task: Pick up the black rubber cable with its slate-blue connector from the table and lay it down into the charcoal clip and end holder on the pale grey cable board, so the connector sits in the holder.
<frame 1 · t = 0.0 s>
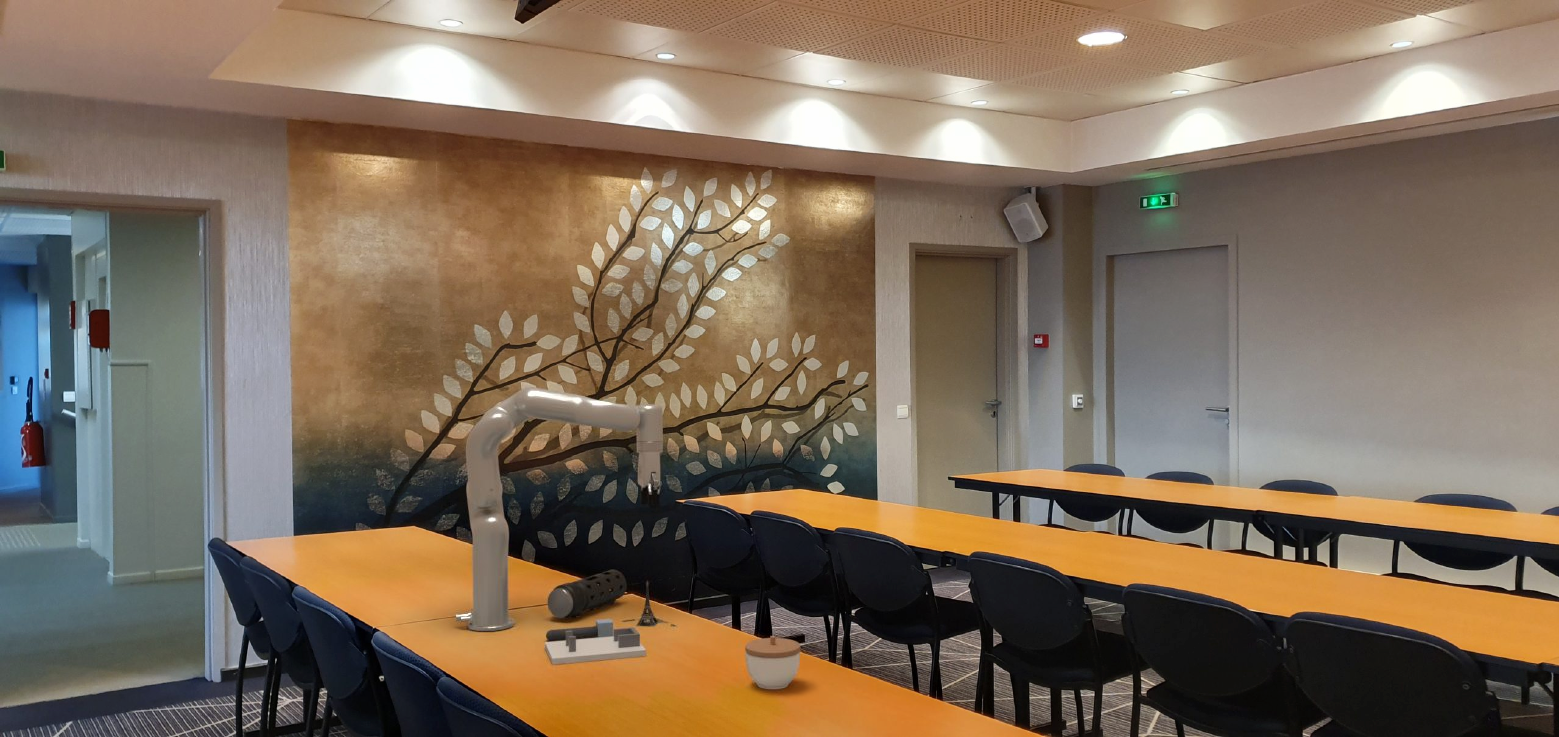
hand: (650, 505, 319), 31 cm above the table, fingers open, 9 cm apart
cable board: (594, 651, 278), on the table
eiffel tower figurine: (649, 626, 307), on the table
muzzle brake: (587, 612, 322), on the table
lidded bowl: (773, 685, 250), on the table
cable: (574, 638, 292), on the table
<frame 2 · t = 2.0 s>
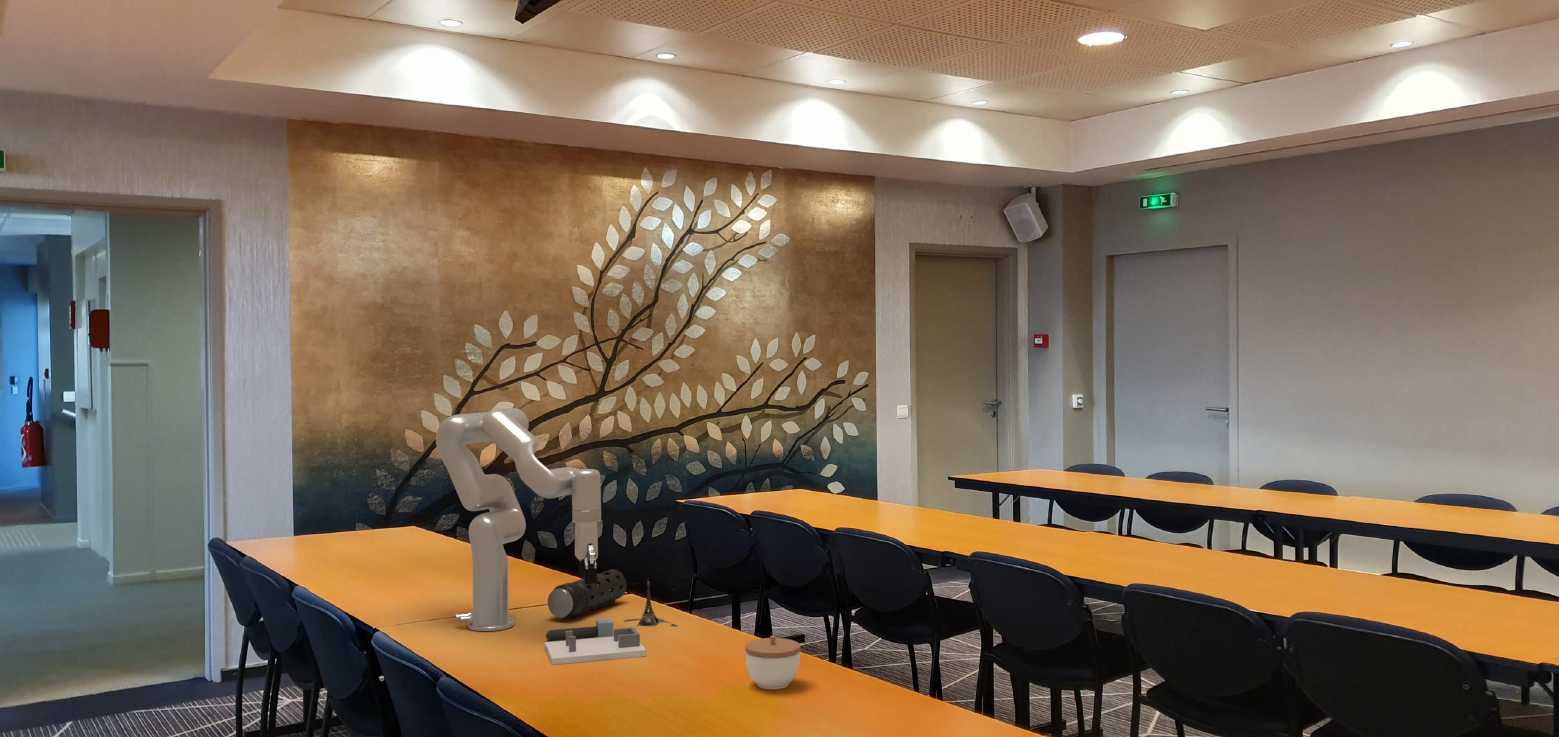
hand: (587, 579, 292), 15 cm above the table, fingers open, 9 cm apart
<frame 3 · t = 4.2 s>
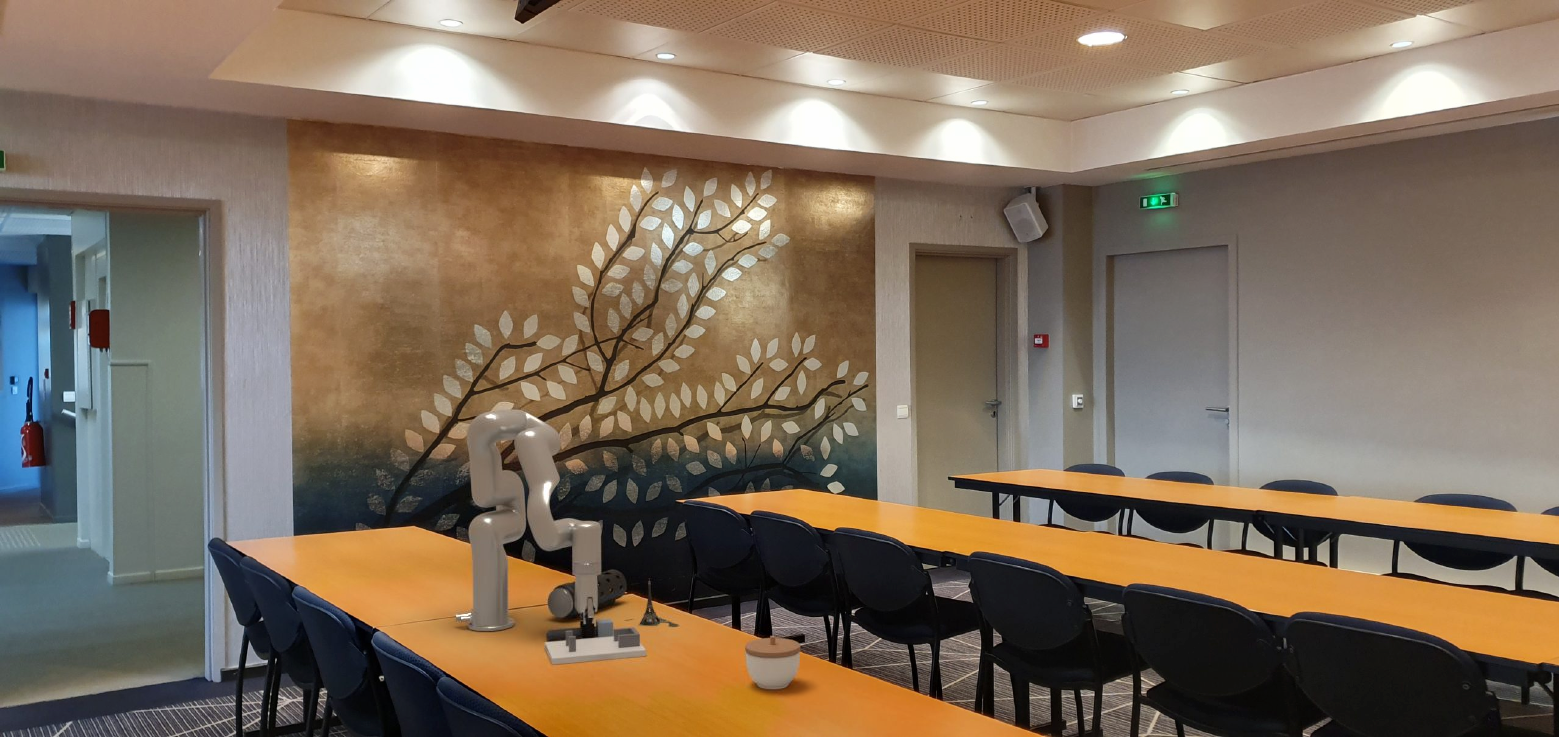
hand: (587, 636, 293), 0 cm above the table, fingers closed on cable, 2 cm apart
cable: (574, 638, 292), on the table, touching gripper
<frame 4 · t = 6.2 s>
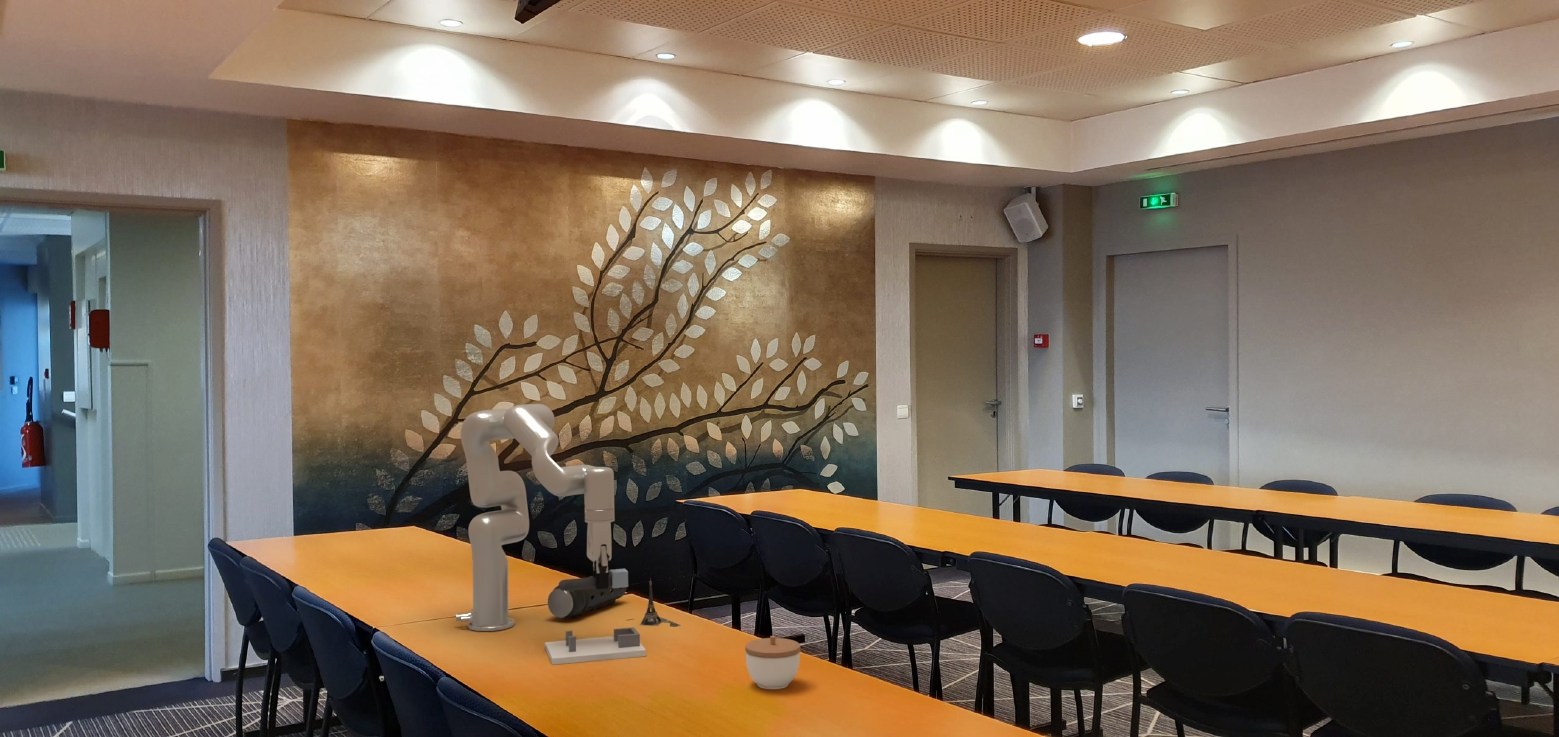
hand: (600, 586, 282), 16 cm above the table, fingers closed on cable, 2 cm apart
cable: (587, 588, 281), point 15 cm above the table, touching gripper
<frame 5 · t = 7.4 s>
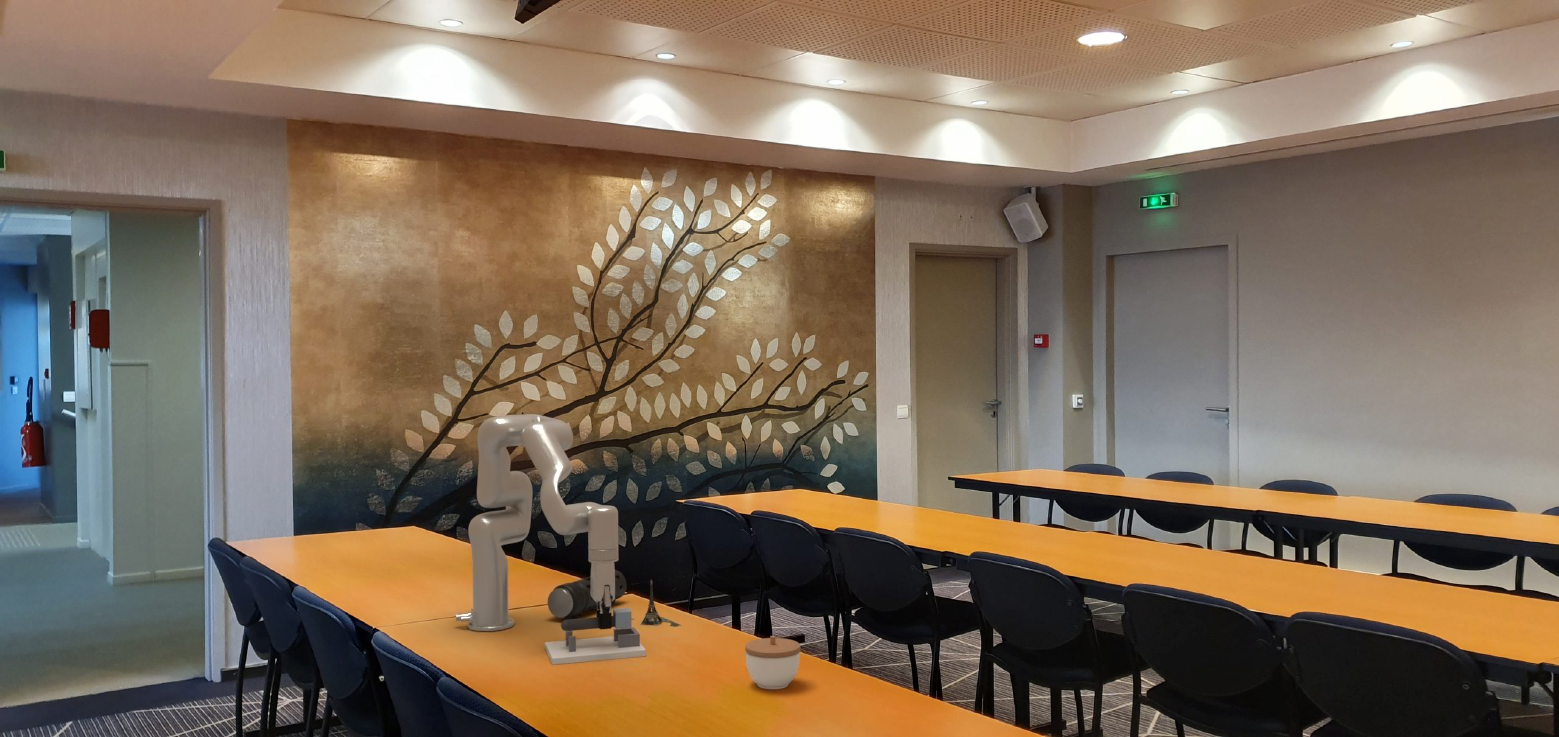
hand: (604, 626, 279), 6 cm above the table, fingers closed on cable, 2 cm apart
cable: (590, 628, 278), point 6 cm above the table, touching gripper
when the fingers open (3 cm above the table, at t = 8.2 s): cable drops 1 cm, resting on cable board.
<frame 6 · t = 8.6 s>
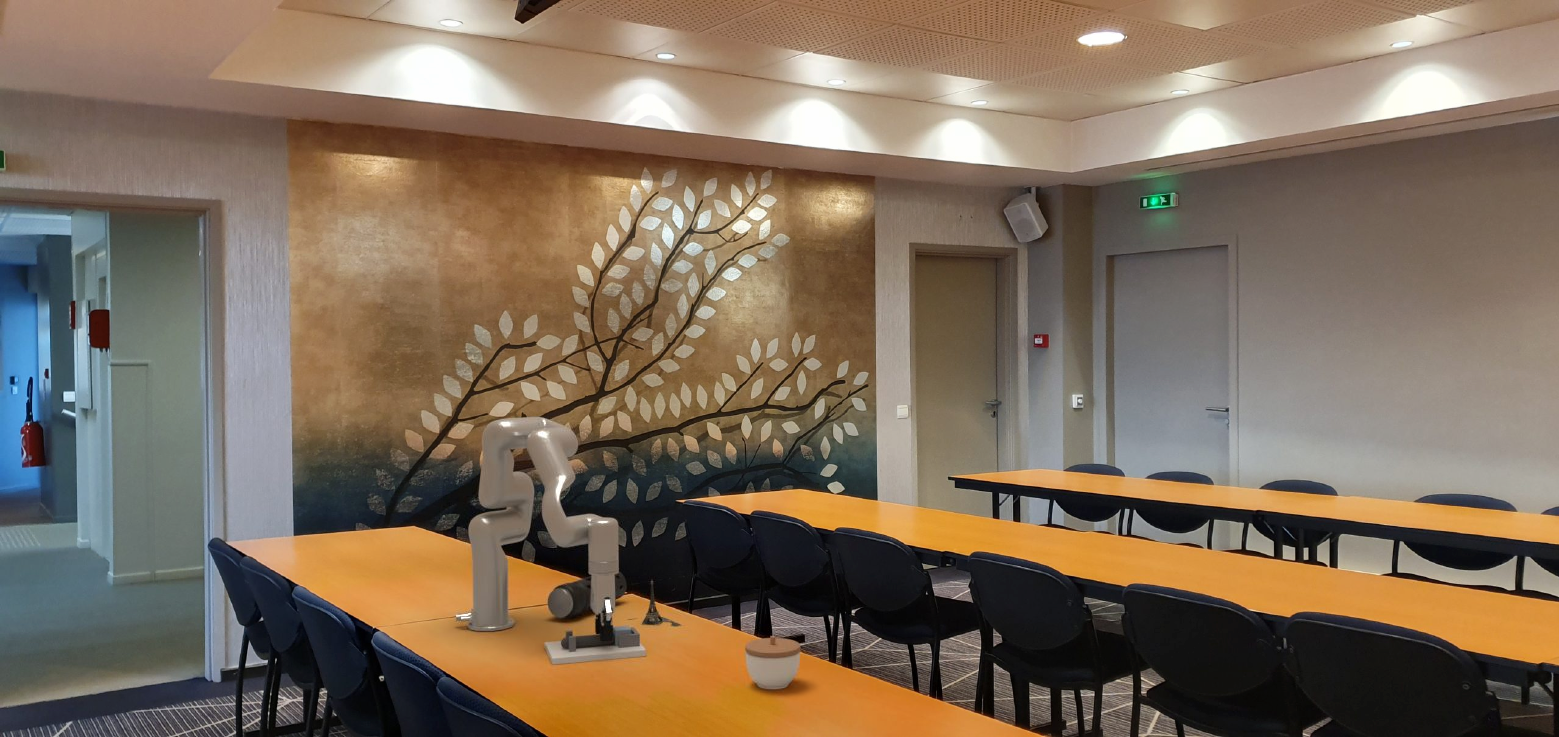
hand: (604, 636, 279), 4 cm above the table, fingers open, 6 cm apart
cable: (590, 646, 278), point 1 cm above the table, touching cable board
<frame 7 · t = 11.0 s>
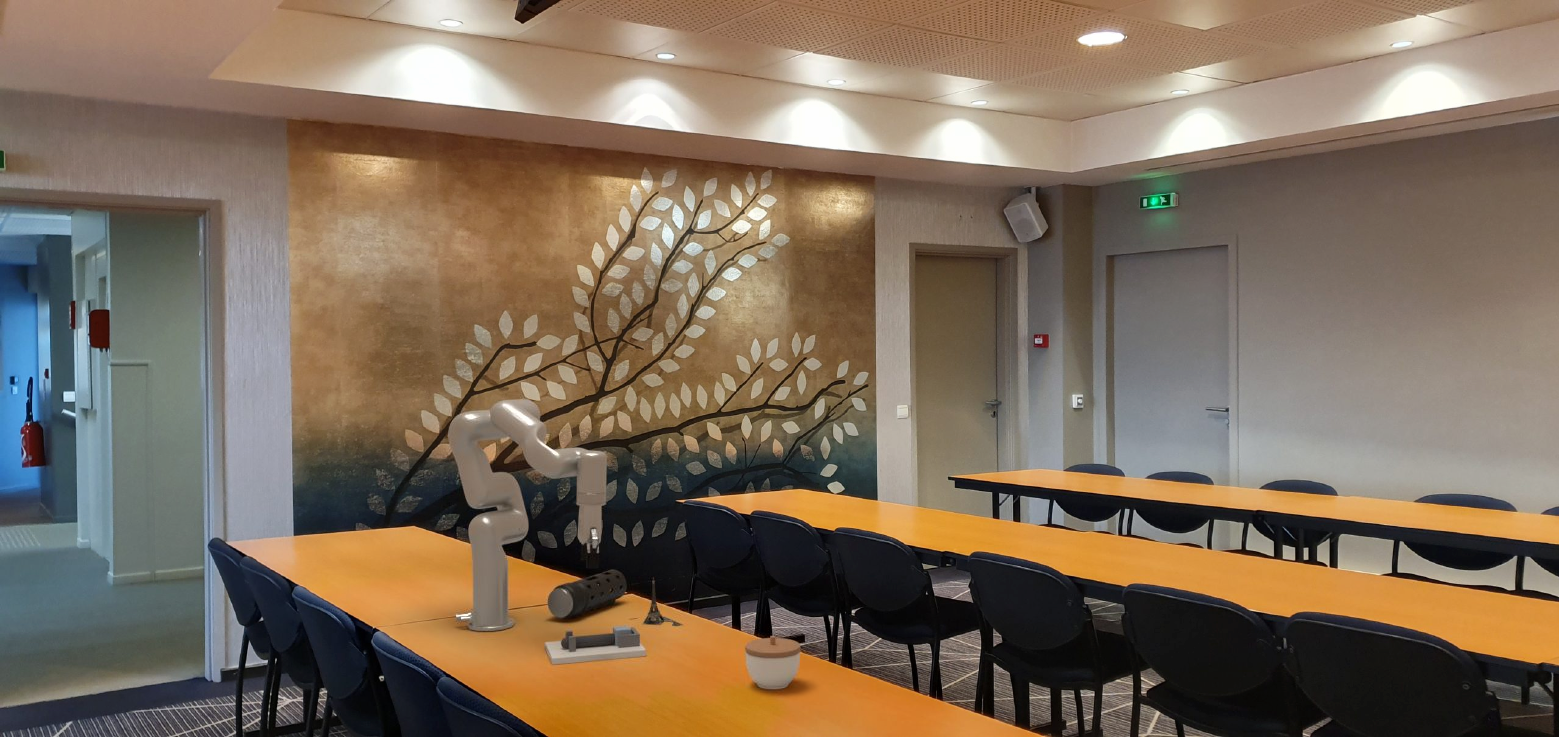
hand: (589, 563, 286), 21 cm above the table, fingers open, 9 cm apart
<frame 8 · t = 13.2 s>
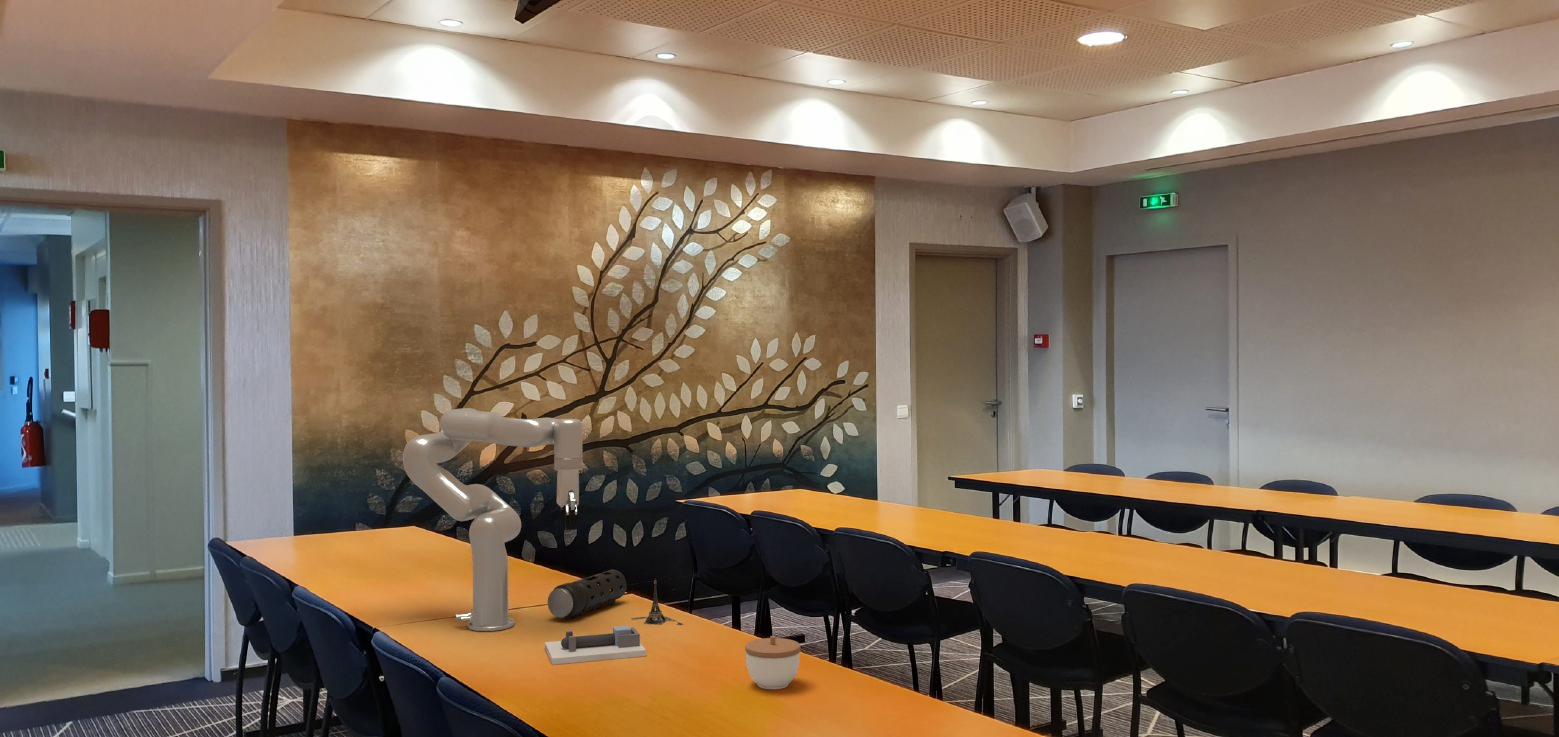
hand: (568, 526, 300), 28 cm above the table, fingers open, 9 cm apart
at the end: cable 0.1 cm from the target spot on the cable board, point 1.5 cm above the cable board's base; the gripper is holding nothing; cable tilted 0° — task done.
